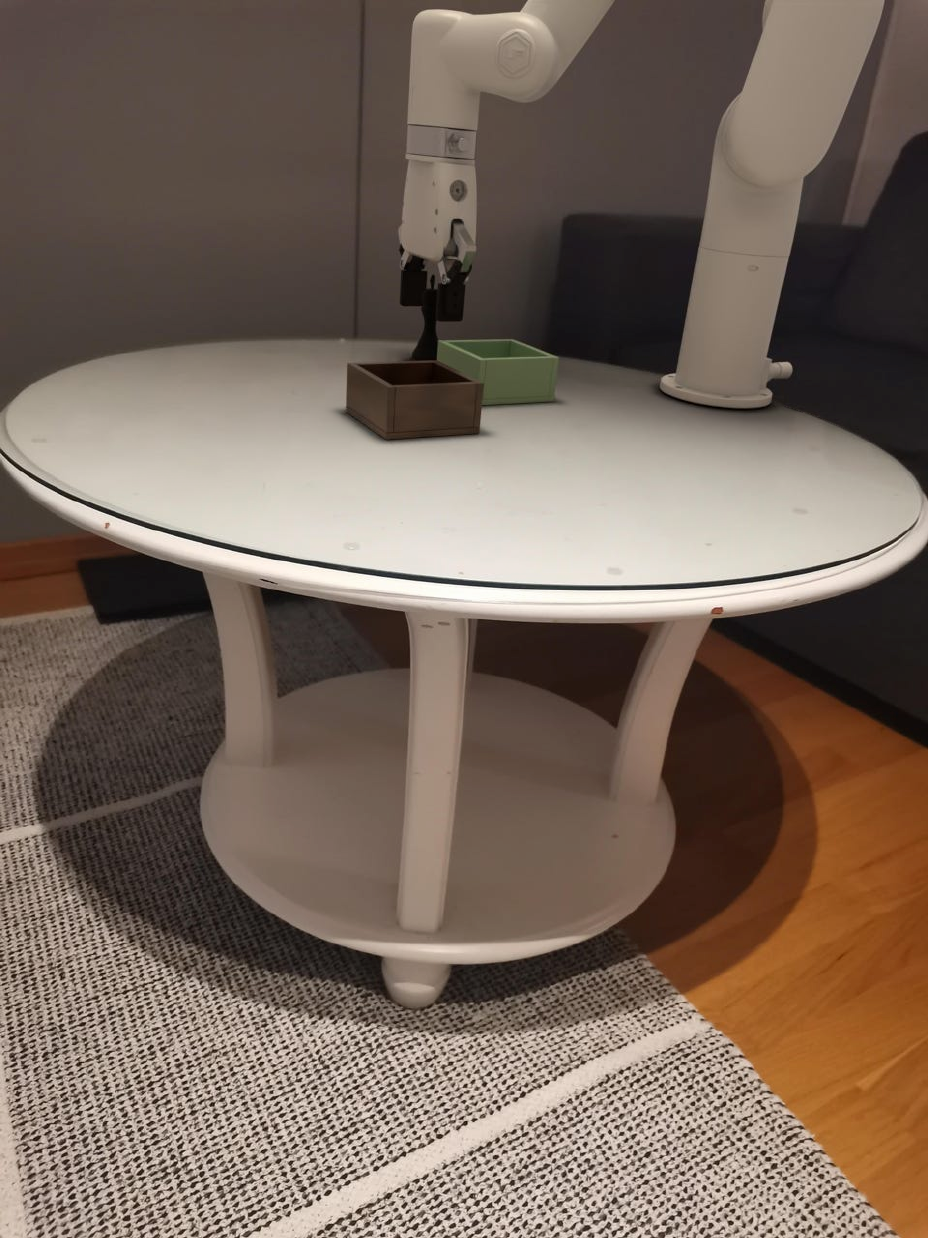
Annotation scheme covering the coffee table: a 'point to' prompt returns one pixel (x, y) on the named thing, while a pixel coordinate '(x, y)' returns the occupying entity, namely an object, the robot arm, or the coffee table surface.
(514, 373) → the light bin
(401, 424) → the dark bin
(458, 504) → the coffee table surface
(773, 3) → the robot arm
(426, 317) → the chess piece
